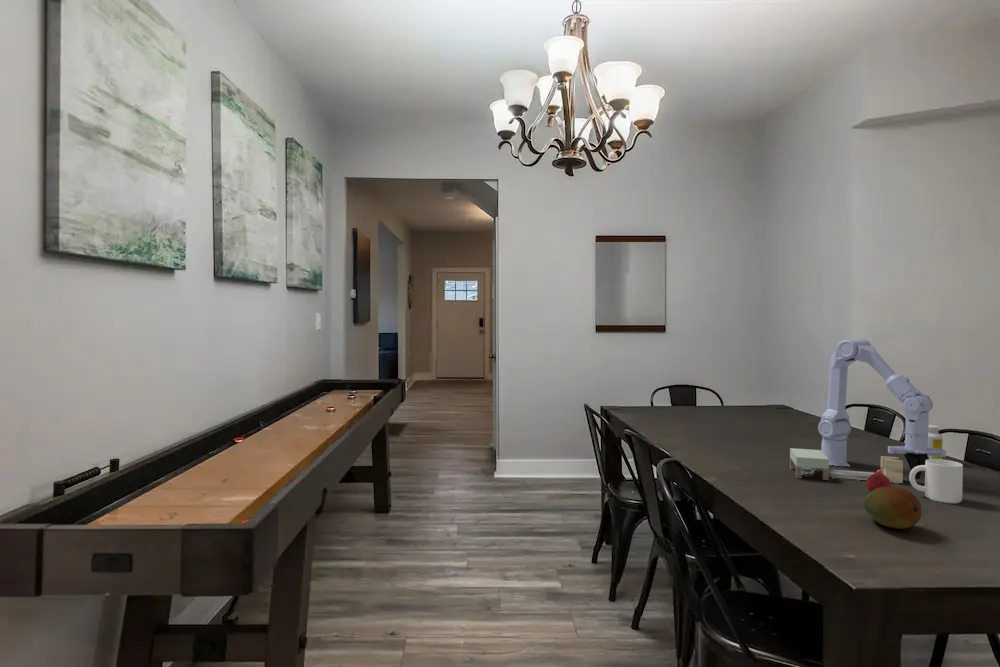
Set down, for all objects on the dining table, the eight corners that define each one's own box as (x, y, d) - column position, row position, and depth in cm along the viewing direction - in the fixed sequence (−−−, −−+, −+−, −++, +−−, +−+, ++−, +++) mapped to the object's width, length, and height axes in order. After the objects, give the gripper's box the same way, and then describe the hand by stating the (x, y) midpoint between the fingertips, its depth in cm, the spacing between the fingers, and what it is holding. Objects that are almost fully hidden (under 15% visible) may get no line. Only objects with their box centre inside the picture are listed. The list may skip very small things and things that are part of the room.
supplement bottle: (943, 462, 200) (943, 425, 200) (940, 466, 195) (941, 428, 195) (919, 459, 205) (920, 423, 204) (916, 462, 200) (917, 426, 200)
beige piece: (826, 474, 186) (827, 452, 186) (897, 479, 180) (897, 457, 180) (830, 478, 181) (830, 456, 181) (902, 483, 175) (903, 461, 175)
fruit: (901, 539, 132) (901, 496, 131) (848, 521, 143) (849, 481, 143) (932, 531, 136) (933, 489, 136) (879, 514, 148) (879, 476, 147)
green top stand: (789, 468, 193) (790, 448, 193) (819, 470, 190) (820, 450, 190) (796, 478, 181) (796, 457, 180) (828, 481, 178) (829, 459, 178)
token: (795, 472, 189) (795, 466, 189) (812, 473, 187) (812, 467, 187) (797, 476, 184) (797, 470, 184) (815, 477, 183) (815, 471, 183)
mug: (911, 499, 160) (911, 462, 160) (906, 491, 167) (907, 456, 167) (965, 505, 154) (966, 467, 154) (958, 497, 162) (959, 461, 161)
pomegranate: (883, 502, 157) (883, 473, 157) (861, 496, 162) (862, 468, 162) (895, 499, 160) (895, 471, 160) (873, 493, 165) (874, 466, 165)
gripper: (893, 435, 174) (892, 479, 174) (950, 438, 169) (949, 483, 170) (886, 430, 181) (885, 473, 181) (940, 433, 176) (939, 477, 177)
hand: (915, 478), depth 176 cm, fingers closed
